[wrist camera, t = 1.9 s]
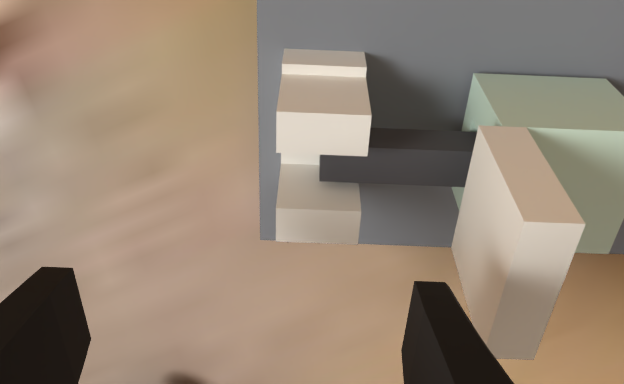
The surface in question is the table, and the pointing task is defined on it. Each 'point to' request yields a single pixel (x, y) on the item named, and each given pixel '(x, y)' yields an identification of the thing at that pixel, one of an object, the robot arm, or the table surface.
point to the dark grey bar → (405, 159)
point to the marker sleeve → (534, 198)
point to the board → (398, 98)
